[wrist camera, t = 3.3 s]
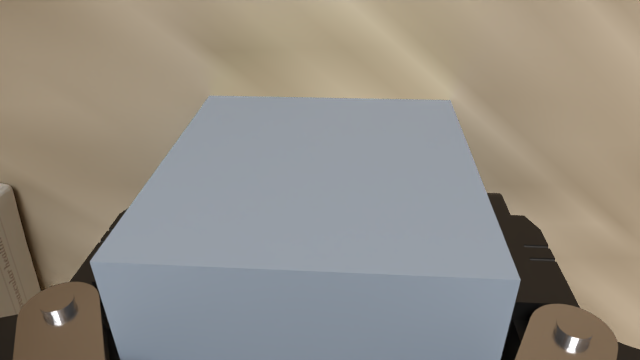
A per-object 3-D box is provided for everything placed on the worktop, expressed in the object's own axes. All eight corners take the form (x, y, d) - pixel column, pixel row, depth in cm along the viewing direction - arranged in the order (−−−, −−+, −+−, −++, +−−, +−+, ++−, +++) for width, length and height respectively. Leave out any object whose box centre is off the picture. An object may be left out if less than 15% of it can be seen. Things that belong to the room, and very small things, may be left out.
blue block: (210, 94, 12) (89, 261, 7) (449, 99, 11) (520, 280, 6) (233, 274, 15) (161, 490, 9) (426, 283, 14) (461, 513, 9)
